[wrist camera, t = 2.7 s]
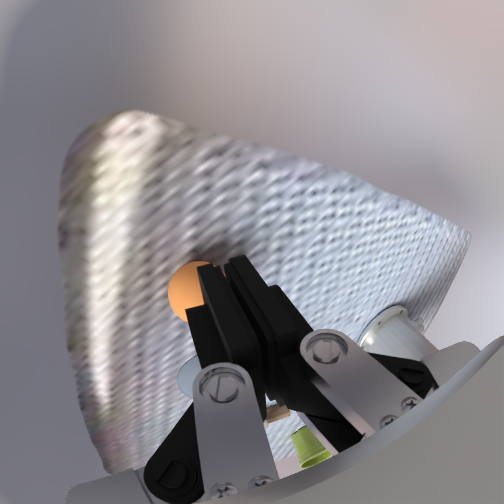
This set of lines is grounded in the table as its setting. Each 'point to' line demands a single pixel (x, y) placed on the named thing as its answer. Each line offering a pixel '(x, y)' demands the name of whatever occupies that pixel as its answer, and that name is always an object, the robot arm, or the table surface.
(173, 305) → the ball
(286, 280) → the table surface
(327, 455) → the plant pot
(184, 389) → the pin spot mat
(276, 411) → the bar
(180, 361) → the table surface
